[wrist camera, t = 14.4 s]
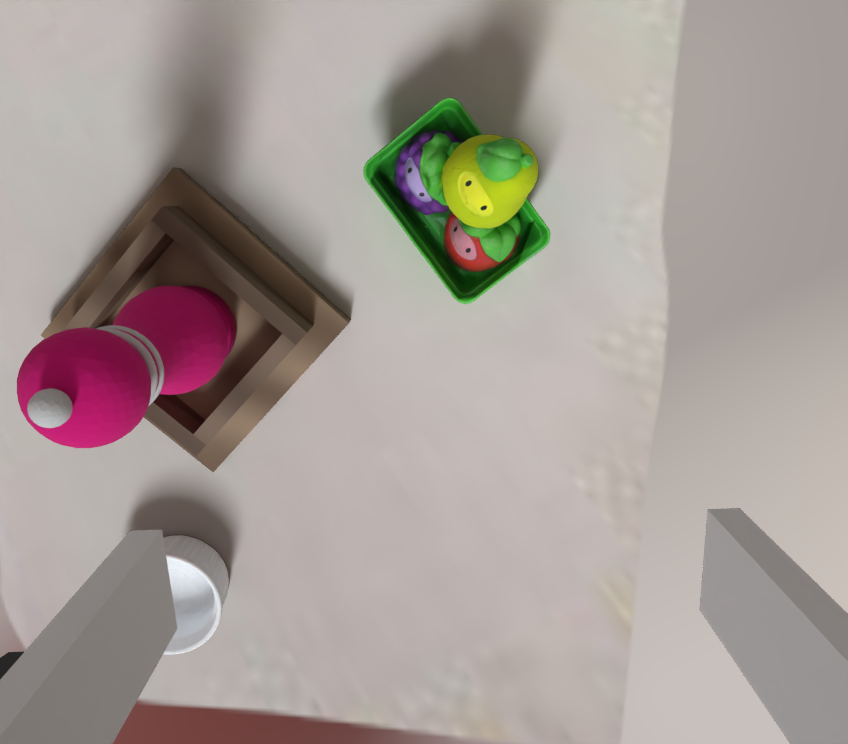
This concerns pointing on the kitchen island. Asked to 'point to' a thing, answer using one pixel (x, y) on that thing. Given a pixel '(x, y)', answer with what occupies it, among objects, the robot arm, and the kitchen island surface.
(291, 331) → the walnut stand
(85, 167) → the kitchen island surface
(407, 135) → the fruit basket
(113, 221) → the kitchen island surface
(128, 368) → the pepper mill
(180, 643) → the ramekin
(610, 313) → the kitchen island surface
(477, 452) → the kitchen island surface
